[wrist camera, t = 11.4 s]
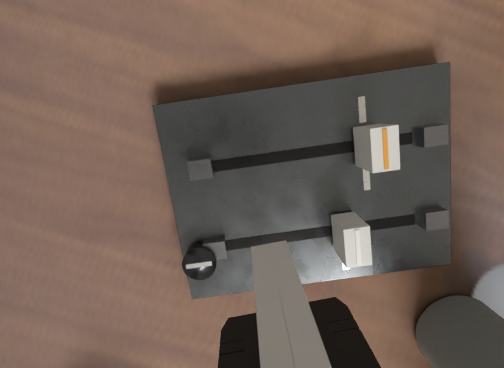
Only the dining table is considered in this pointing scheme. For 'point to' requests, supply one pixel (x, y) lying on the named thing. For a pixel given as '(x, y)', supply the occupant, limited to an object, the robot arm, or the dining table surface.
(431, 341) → the water bottle
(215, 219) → the console board
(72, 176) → the dining table surface
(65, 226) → the dining table surface
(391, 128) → the block
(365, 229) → the fader
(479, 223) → the dining table surface
